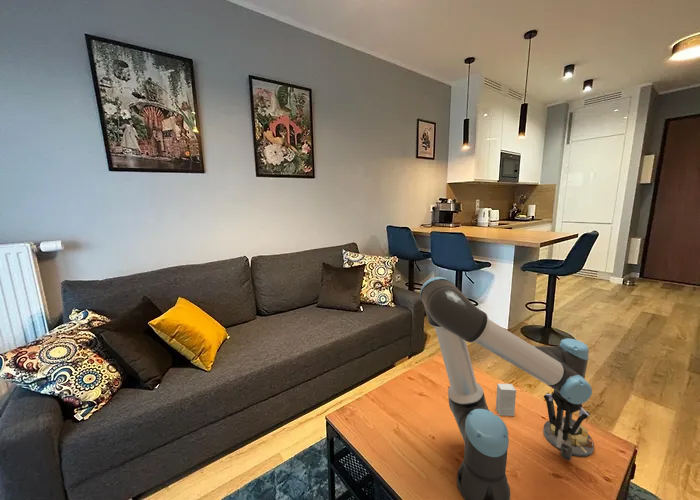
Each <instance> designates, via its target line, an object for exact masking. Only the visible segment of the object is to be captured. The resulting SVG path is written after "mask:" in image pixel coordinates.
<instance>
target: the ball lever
mask: <svg viewBox="0 0 700 500" xmlns="http://www.w3.org/2000/svg"><path fill="white" fill-rule="evenodd" d="M563 417H565V416H564V415H563ZM572 419H573V420H575V421H576V420H577V419H574V416H573V415H572ZM588 430H589V428H586V427H585V426H584V425H582V423H581V424H580V428H579V435H571V434H570V433H569V435H568V439H567V440H566V441H564V444H563V445H562V449H561V450H560V457H561V458H562V459H564V460H565V461H571V460H572V456H573V455H572V448H571V445H572V446H575V447H576V446H584V445H587V438H588V435H589V434H588ZM550 432H551V433H552V434H553V435H554V436H555V426H554V425H553V424H551V426H550ZM555 437H556V438H557V436H555Z"/></svg>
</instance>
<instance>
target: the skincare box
mask: <svg viewBox="0 0 700 500" xmlns="http://www.w3.org/2000/svg"><path fill="white" fill-rule="evenodd" d="M516 396H517V390H516V388H515V387H514V385H513V383H497V384H496V397H495V398H496V399H495V410H496V412H497V414H498V416H499V417H500V416H502V417H503V416H506V417H515V409H516V398H517V397H516Z"/></svg>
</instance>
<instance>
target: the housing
mask: <svg viewBox="0 0 700 500" xmlns="http://www.w3.org/2000/svg"><path fill="white" fill-rule="evenodd" d="M575 420H576V419H574V418H573V419H571V425H570V428H572V427H573V425H574V424H575V422H576V421H575ZM564 421H565V417H563V420H562V426H561V427H564ZM550 426H551V423H550V421H549V420H547V421H545V422H544V425H543V431H542V433H543V436H544V438H545V439H546V440H547V442H549V444H550V445H552V446H553V447H554V448H556V449H557V450H559V451H561V449H562V447H561V448H558V447H557V446H556V444H557V438H556V437H555V436H554V435H553V434H552V433H551V432H550ZM579 428H580V426H579ZM579 428H578V429H577V431H576V432H575V433H574V435H579ZM594 447H595V442H594V439H593V438H592V437H591V436H590V435H589V434H588V438H587V445H584V446H576V447H575V446H572V445H571V448H572V455H571V456H572V457H574V456H575V457H580V458H586V457H589V456H591V455H592V454H593V452H594Z"/></svg>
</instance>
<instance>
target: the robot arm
mask: <svg viewBox="0 0 700 500" xmlns="http://www.w3.org/2000/svg"><path fill="white" fill-rule="evenodd" d="M419 291H420V292H419V297H420V301H421V303H422V304H423V307H424V311H425V313H426V317H427V321H428V324H429V325H430V326H431V327H433V328H434V329H435V333H436V337H437V342H438V344H439V349H440V352H441V355H442V359H443V364H444V367H445V370H446V374H447V378H448V382H449V385H450V386H449V387H448V388H447V396H448V406H449V409H450V411H451V413H452V415H453V417H454V420H455V421H456V422H455V423H456V425H457V427H458V429H459V432H460V435H461V437H462V439H463V443H464V450H463V452H464V453H463V460H462V462H461V464H460V466H459V467H458V469H457V473H456V474H457V475H456V484H457V485H456V486H457V489H458V491H459V493H460V495H461V496H462V498H463V499H464V500H511V487H510V485H509V481H508V478H507V475H506V474H507V473H506V470H507V462H508V461H507V459H508V449H509V445H510V442H509V441H510V438H509V430H508V427H507V425H506V423H505V422H504V421H503V419H502V418H501V417H500V415H497V414H494V412H493V411H491V410H490V409H489V407H488V404H487V401H486V397H485V394H484V393H485V392H484V388H483V387H482V386H481V385H480V384H479V383H478V382H477V380H476V375H475V372H474V367H473V364H472V360H471V356H470V352H469V348H468V344H467V342H468V343H471V344H472V343H476V344H477V345H479V346H481V347H483V348H484V349H486V350H487V351H490V352H492V353H493V354H494V355H496V356H498V357H500V358H501V359H503V360H504V361H506V362H508V363H510V364H511V365H513V366H514V367H516V368H517V369H519V370H521V371H523V372H525V373H526V374H528V375H530V376H532V377H533V378H535V379H536V380H538V381H540V383H541V382H542V383H543V384H545V385H546V386H548V387H550V388H551V389H553V392H551V393H549V392H546V393H545V394H544V395H543V398H544V400H545V402H546V403H545V404H546V409H547V415H548V421H550V423H551V424H553V425H554V426H555V436H557V444H556V446H557V447H558V448H561V447H562V445H563V444H564V441H566V440H567V439H568V435H569V433H570V434H571V435H574V433H575V432H576V431H577V429H578V428H579V426H580V424H581V425H582V423H583V421H584V420H586V419H587V418H589V416H590V415H591V413H590V412H589V411H586V410H585V409H584V408H583V404H584V403H587V402H588V400H589V399H591V397H592V394H593V389H592V386H591V383H590V382H588V381H587V380H586V372H587V366H588V362H589V346H588V345H587V344H586V343H584V342H583V341H582V340H581V341H580V340H578V339H575V338H568V337H567V338H564V339H563V338H562V339H561V340H560V343H559V346H557V345H555V346H550V345H549V346H548V345H546V346H545V345H532V344H531V343H529V342H527V341H525V340H524V339H522V338H521V337H519V336H517V335H516V334H514V333H513V332H510V331H509V330H507V329H506V328H504V327H502V326H501V325H499V324H498V323H496V322H494V321H493V320H491V319H489V316H488V314H487V312H484V311H483V310H481V309H480V308H479V307H477V306H476V305H475V304H474V303H472V301H470V300H469V298H468V297H466V295H464V294H463V292H462V291H460V289H459V288H458V287H456V285H455V283H454V282H452V281H451V280H449V279H448V278H446V277H442V276H435V277H431V278H429V279H427V280H426V281H424V283H423V284H422V286H421V288H420V290H419ZM554 403H555V404H554ZM555 405H556V411H555ZM576 412H578V418H577V419H575V420H576V422H575V424H574V425H573V427H572V428H570V425H571V419H572V416H573V414H574V413H576ZM564 413H565V414H564ZM564 415H565V421H564V427H561V426H562V420H563V416H564Z"/></svg>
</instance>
